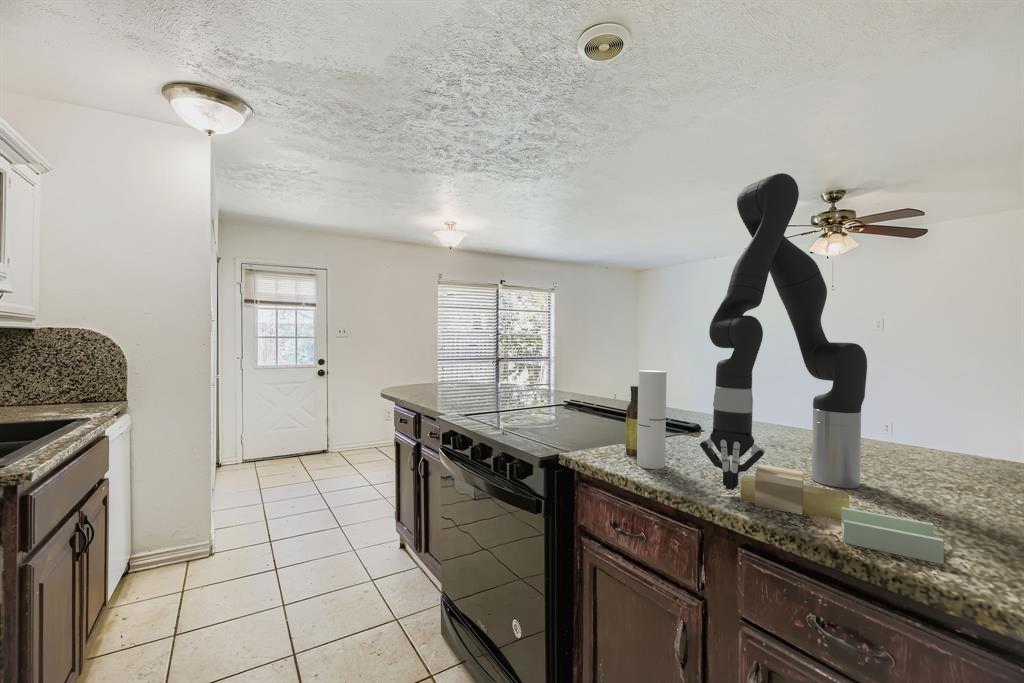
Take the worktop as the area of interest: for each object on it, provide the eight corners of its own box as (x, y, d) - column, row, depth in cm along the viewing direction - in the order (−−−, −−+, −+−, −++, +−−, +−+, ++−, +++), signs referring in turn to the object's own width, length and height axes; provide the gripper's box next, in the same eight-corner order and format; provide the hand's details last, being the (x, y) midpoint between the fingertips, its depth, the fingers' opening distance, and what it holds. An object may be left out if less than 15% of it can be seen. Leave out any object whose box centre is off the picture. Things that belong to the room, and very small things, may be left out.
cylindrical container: (666, 469, 113) (668, 372, 113) (638, 467, 115) (639, 371, 115) (663, 462, 120) (664, 370, 120) (635, 460, 122) (637, 369, 122)
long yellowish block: (743, 495, 96) (744, 474, 96) (847, 515, 85) (848, 492, 85) (740, 501, 92) (740, 480, 92) (848, 523, 82) (849, 499, 82)
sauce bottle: (643, 458, 125) (645, 387, 125) (622, 454, 128) (623, 386, 128) (650, 453, 130) (651, 385, 130) (629, 450, 133) (630, 384, 133)
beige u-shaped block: (758, 494, 96) (759, 464, 96) (802, 502, 91) (803, 470, 91) (754, 505, 89) (755, 473, 89) (801, 514, 85) (802, 480, 85)
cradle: (841, 526, 80) (841, 507, 80) (932, 544, 73) (932, 523, 73) (843, 542, 73) (844, 521, 73) (943, 564, 66) (944, 541, 66)
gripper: (769, 410, 95) (767, 491, 95) (703, 403, 102) (701, 478, 102) (766, 414, 88) (763, 500, 88) (696, 406, 96) (693, 486, 96)
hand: (730, 488), depth 95 cm, fingers closed
